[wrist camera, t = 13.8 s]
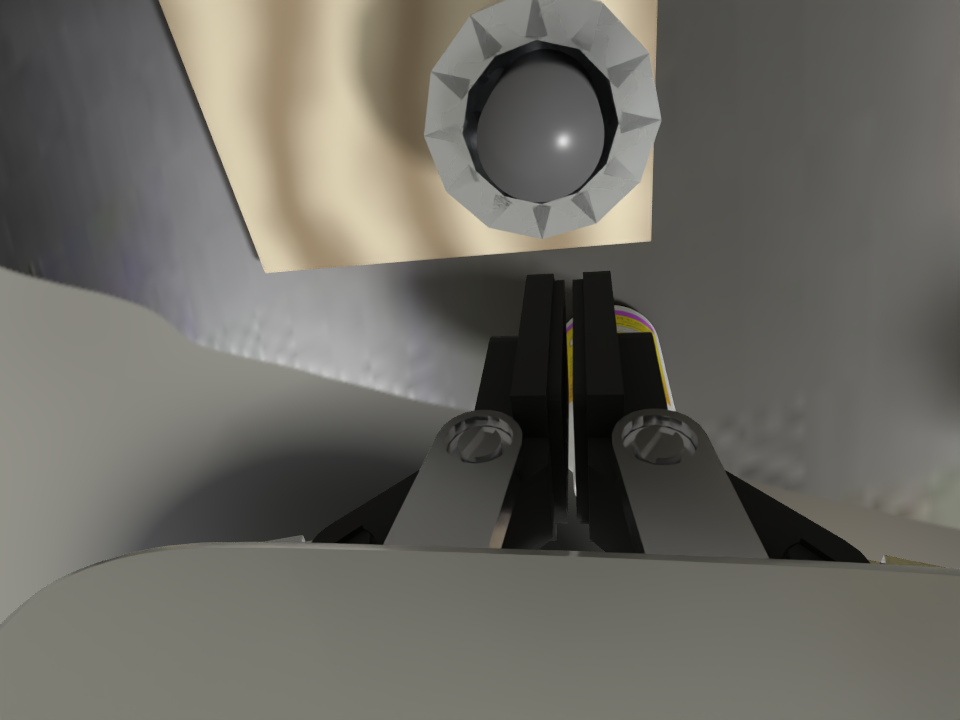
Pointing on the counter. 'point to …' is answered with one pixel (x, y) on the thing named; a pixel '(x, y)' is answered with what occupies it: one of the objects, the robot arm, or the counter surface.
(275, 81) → the birch board
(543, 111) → the grey rounded canister
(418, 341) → the counter surface
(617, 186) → the lens barrel
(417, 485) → the robot arm
